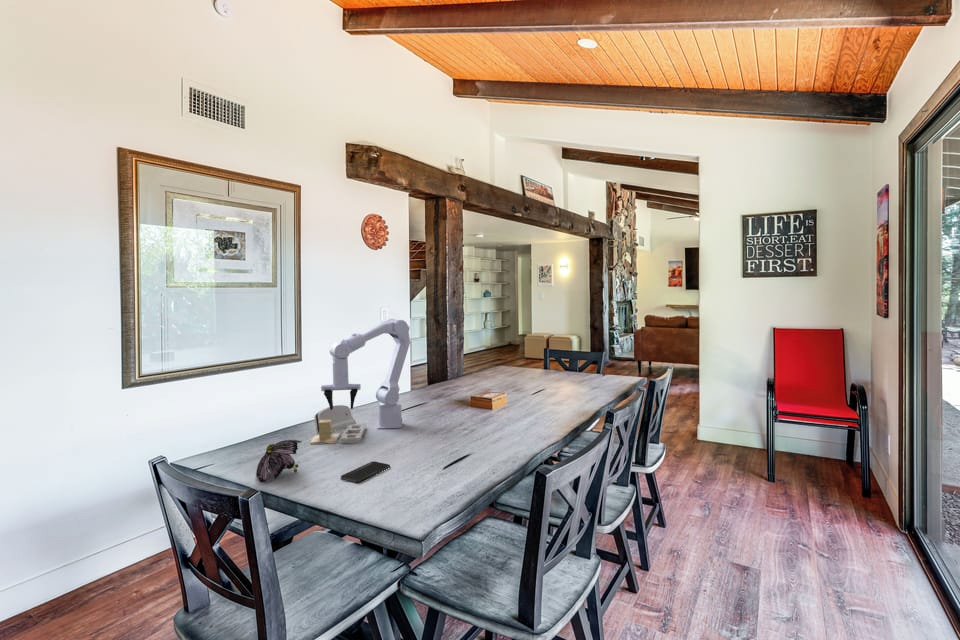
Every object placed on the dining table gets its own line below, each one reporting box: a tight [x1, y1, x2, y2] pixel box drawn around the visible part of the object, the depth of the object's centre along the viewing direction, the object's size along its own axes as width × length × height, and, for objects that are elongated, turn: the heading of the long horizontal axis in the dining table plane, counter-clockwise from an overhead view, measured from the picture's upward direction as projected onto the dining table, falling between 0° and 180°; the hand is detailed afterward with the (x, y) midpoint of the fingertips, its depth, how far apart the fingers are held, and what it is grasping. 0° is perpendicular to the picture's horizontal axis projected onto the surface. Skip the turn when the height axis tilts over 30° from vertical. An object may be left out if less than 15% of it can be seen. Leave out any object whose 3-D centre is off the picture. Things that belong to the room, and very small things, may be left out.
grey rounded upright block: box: [313, 404, 357, 433], centre depth 202 cm, size 17×5×10 cm, turn 145°
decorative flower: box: [255, 439, 303, 483], centre depth 152 cm, size 15×12×15 cm
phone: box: [340, 461, 391, 484], centre depth 153 cm, size 8×1×15 cm
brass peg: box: [318, 419, 332, 440], centre depth 186 cm, size 4×4×6 cm
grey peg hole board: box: [340, 423, 367, 444], centre depth 191 cm, size 7×18×2 cm, turn 6°
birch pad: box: [310, 433, 341, 445], centre depth 186 cm, size 9×9×1 cm
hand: (341, 408), depth 192 cm, fingers open, 7 cm apart
